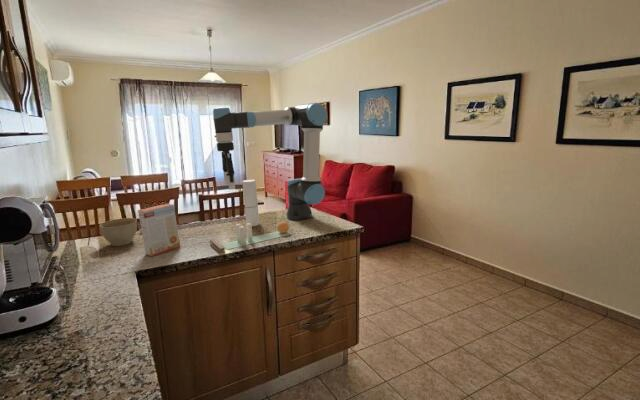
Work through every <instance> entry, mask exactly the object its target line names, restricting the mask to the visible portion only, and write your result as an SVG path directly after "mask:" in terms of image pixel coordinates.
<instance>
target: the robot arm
mask: <svg viewBox="0 0 640 400" xmlns="http://www.w3.org/2000/svg"><path fill="white" fill-rule="evenodd" d="M230 109H231V108H229V107H216V108H213V111H212V113H213V114H212V115H213V117H212V118H213V124H214V132H215V135H214V138H215V140H216V142H217V143H216V149H217V151H218V152H220V154H221V164H222V170H223V178H224V186H228V189H229V190H236V182H235V181H236V180H235V168H234V163H233V160H232V159H233V157H232V153H231V152H230V151H234V150H235V149H234V148H235V145H234V142H233V141H234V136H233V129H246V128H254V127H265V126H274V125H275V126H276V125H287V126H299V127H300V128H301V130H302V131H303V165H302V166H303V167H302V173H303V174H302V177H300V178H293V179H288V181H287V184H286V185H287V195H288V196H287V198H288V207H287V212H286V219H288V220H291V221H302V220H307V219H310V218H312V216H313V212H312V210H311V207H310V205H318V204H320V203H321V202H322V201H323V200H324V198H325V196H326V195H325V194H326V191H325V187H324V186H323V185H322V179H321V177H320V173H319V172H320V147H321V146H320V143H321V142H320V140H321V132H322V131H323V128H324V125H325V124H326V122H327V121H328V112H327V109H326V107H325V106H323V104H321V103H318V102H310V103H303V104H299V105H295V106H290V107H284V109H275V110H272V109H271V110H260V111H259V110H258V111H231V110H230Z"/></svg>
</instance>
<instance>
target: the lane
mask: <svg viewBox="0 0 640 400" xmlns="http://www.w3.org/2000/svg"><path fill="white" fill-rule="evenodd" d="M291 235H293V233H292V232H290V231H289V230H288V231H287V232H286V233H283V234H282V233H280V232H279V231H278V230H275V231H273V232H269V233H264V234H260V235H254V236H252V237H253V241H248V238H246V244H245V245H241V242H237V240H232V241H230V242H223V243H220V244H221V245H222V246H223V247H224V248H225V249H226V250H231V249H235V248H240V247H244V246H248V245H253V244H257V243H261V242H266V241H270V240H273V239H278V238H283V237H287V236H291Z"/></svg>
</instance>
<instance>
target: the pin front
mask: <svg viewBox="0 0 640 400" xmlns="http://www.w3.org/2000/svg"><path fill="white" fill-rule="evenodd" d="M245 226H246V227H245V228H246V236H247V238H248V241H253V237H254V236H253V229H252V227H253V226H251V223H248V224H246V223H245Z"/></svg>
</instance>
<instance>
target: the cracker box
mask: <svg viewBox="0 0 640 400" xmlns="http://www.w3.org/2000/svg"><path fill="white" fill-rule="evenodd" d="M137 213H138V219H139V223H140V228H141V236H142V239H143V240H142V241H143V246H144V251H145V255H147V256H149V257H153V256H157V255H160V254H162V253H163V254H164V253H166V252H169V251H172V250H175V249H178V248H181V242H180V236H179V231H178V230H179V229H178V224H177V217H176V211H175V205H174V204H172V203H164V204H160V205H154V206H151V207H147V208H141V209H138V210H137Z"/></svg>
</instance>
